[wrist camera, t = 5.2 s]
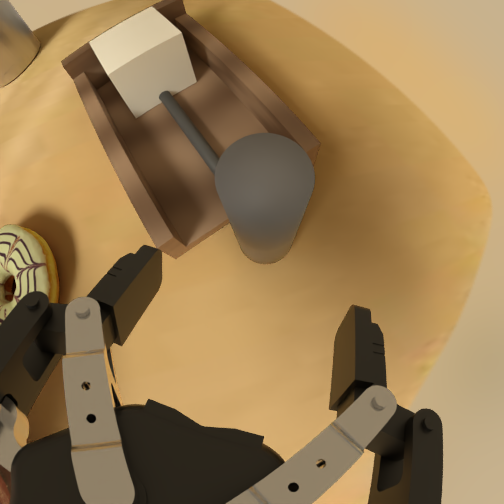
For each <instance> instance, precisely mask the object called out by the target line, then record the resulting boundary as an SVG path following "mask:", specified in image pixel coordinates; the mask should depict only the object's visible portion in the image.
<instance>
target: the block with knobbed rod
mask: <svg viewBox="0 0 504 504" xmlns="http://www.w3.org/2000/svg"><path fill="white" fill-rule="evenodd" d="M89 44H90V45H91V47H92V49H93V51H94V52H95V54H96V56H97V58H98V59H99V61H100V63H101V65H102V66H103V68H104V70H105V71H106V73H107V75H108V76H109V78H110V80H111V81H112V83H113V84H114V86H115V87H116V89H117V90H118V92H119V93H120V95H121V97H122V98H123V100H124V101H125V103H126V104H127V106H128V107H129V109H130V110H131V112H132V113H133V115H134V116H135V118H138V117H139V116H141V115H142V114H144V113H146V112H147V111H149V110H150V109H152V108H153V107H155V106H157V105H158V104H160V103H161V102H162V103H163V104H164V106H165V107H166V109H167V110H168V111H169V113H170V114H171V116H172V117H173V118H174V120H175V121H176V122H177V124H178V125H179V127H180V128H181V129H182V131H183V132H184V134H185V135H186V136H187V138H188V139H189V141H190V142H191V143H192V145H193V146H194V148H195V149H196V150H197V152H198V153H199V155H200V156H201V157H202V159H203V160H204V162H205V163H206V164H207V166H208V167H209V169H210V170H211V171H212V173H213V174H214V176H215V186H216V190H217V193H218V195H219V198H220V200H221V202H222V205H223V207H224V210H225V212H226V214H227V217H228V219H229V221H230V224H231V226H232V228H233V231H234V233H235V236H236V238H237V240H238V243H239V245H240V247H241V250H242V251H243V253H244V254H245V255H246V256H247V257H248V258H249V259H250V260H252V261H254V262H256V263H260V264H271V263H275V262H277V261H279V260H281V259H282V258H283V257H285V256H286V255H287V253H288V252H289V250H290V248H291V246H292V243H293V241H294V238H295V236H296V233H297V231H298V228H299V225H300V223H301V220H302V218H303V215H304V213H305V210H306V208H307V205H308V202H309V200H310V197H311V195H312V192H313V189H314V184H315V173H314V168H313V165H312V162H311V160H310V158H309V156H308V155H307V153H306V152H305V151H304V150H303V149H302V147H301V146H299V145H298V144H297V143H296V142H294V141H292V140H291V139H289V138H287V137H284V136H281V135H278V134H273V133H257V134H252V135H248V136H245V137H243V138H241V139H239V140H237V141H235V142H234V143H232V144H231V145H230V146H229V147H228V148H227V149H226V150H225V151H224V152H223V154H222V155H221V157H220V158H219V157H218V155H217V154H216V153H215V151H214V150H213V149H212V147H211V146H210V145H209V143H208V142H207V141H206V139H205V138H204V137H203V135H202V134H201V133H200V131H199V130H198V129H197V127H196V126H195V125H194V123H193V122H192V121H191V119H190V118H189V117H188V115H187V114H186V113H185V112H184V110H183V109H182V108H181V106H180V105H179V104H178V102H177V101H176V100H175V99H174V97H173V95H175V94H177V93H178V92H180V91H182V90H183V89H185V88H187V87H189V86H191V85H192V84H194V83H196V82H197V81H196V78H195V74H194V71H193V68H192V65H191V61H190V58H189V55H188V51H187V48H186V45H185V42H184V38H183V35H182V32H181V31H179V30H178V29H177V28H176V27H175V26H174V25H173V24H172V23H171V22H169V21H168V20H167V19H166V18H165V17H164V16H163V15H161V14H160V13H159V12H158V11H157V10H156V9H155V8H153V7H152V6H151V7H149V8H147V9H145V10H143V11H141V12H140V13H138V14H136V15H134V16H132V17H130V18H128V19H127V20H125V21H123V22H121V23H119V24H118V25H116V26H114V27H113V28H111V29H109V30H108V31H106V32H104V33H103V34H101V35H100V36H98V37H96V38H95V39H93V40H92V41H90V42H89Z"/></svg>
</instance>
